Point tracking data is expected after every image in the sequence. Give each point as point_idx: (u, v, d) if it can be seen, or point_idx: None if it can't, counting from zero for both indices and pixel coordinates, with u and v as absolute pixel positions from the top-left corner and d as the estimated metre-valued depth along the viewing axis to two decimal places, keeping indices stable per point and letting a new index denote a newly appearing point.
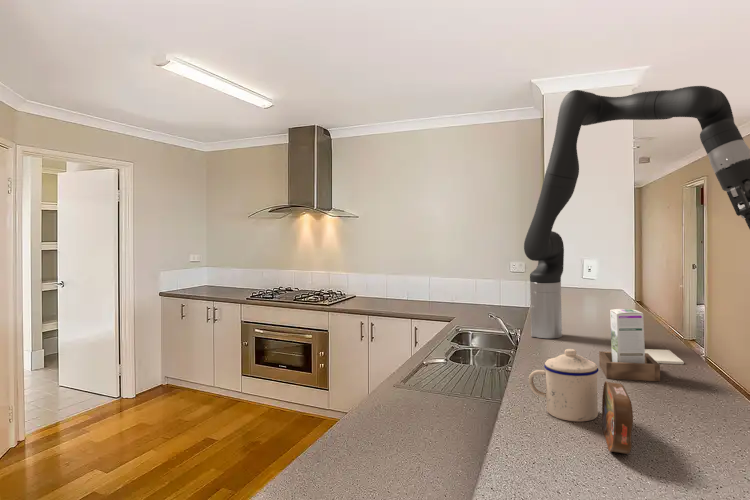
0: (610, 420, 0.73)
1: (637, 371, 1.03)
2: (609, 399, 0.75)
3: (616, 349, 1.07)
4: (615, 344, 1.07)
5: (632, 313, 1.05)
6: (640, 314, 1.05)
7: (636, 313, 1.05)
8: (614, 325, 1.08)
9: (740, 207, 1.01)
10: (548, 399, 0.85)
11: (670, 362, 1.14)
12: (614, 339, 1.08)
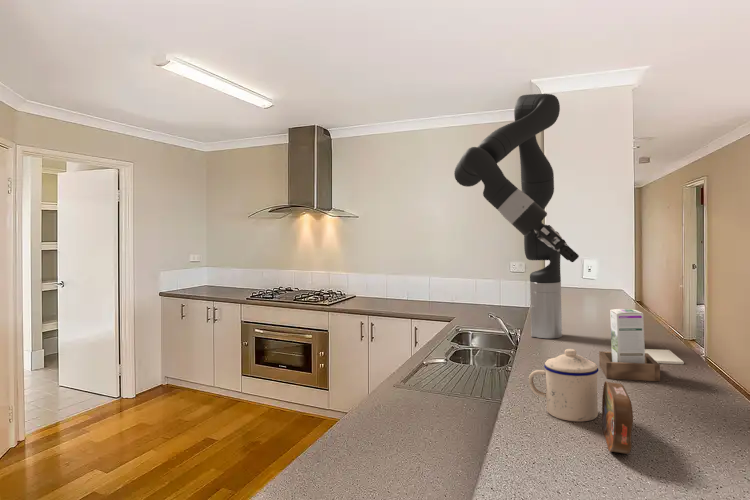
0: (610, 420, 0.73)
1: (637, 371, 1.03)
2: (609, 399, 0.75)
3: (616, 349, 1.07)
4: (615, 344, 1.07)
5: (632, 313, 1.05)
6: (640, 314, 1.05)
7: (636, 313, 1.05)
8: (614, 325, 1.08)
9: None
10: (548, 399, 0.85)
11: (670, 362, 1.14)
12: (614, 339, 1.08)
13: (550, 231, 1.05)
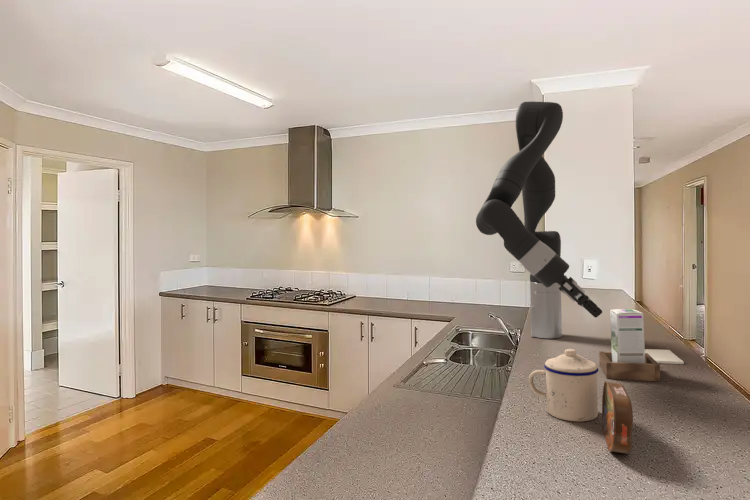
0: (610, 420, 0.73)
1: (637, 371, 1.03)
2: (609, 399, 0.75)
3: (616, 349, 1.07)
4: (615, 344, 1.07)
5: (632, 313, 1.05)
6: (640, 314, 1.05)
7: (636, 313, 1.05)
8: (614, 325, 1.07)
9: None
10: (548, 399, 0.85)
11: (670, 362, 1.14)
12: (614, 339, 1.08)
13: (573, 287, 1.04)
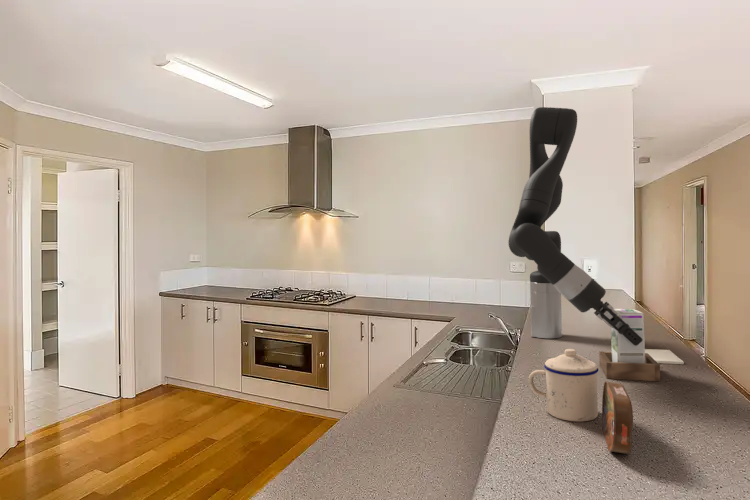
0: (610, 420, 0.73)
1: (637, 371, 1.03)
2: (609, 399, 0.75)
3: (616, 349, 1.07)
4: (615, 344, 1.07)
5: (632, 313, 1.05)
6: (640, 314, 1.05)
7: (636, 313, 1.05)
8: None
9: None
10: (548, 399, 0.85)
11: (670, 362, 1.14)
12: (614, 339, 1.08)
13: (614, 316, 1.03)
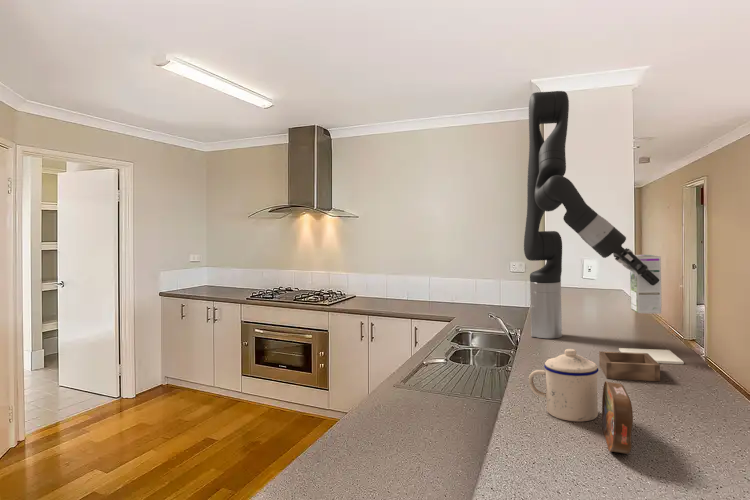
0: (610, 420, 0.73)
1: (637, 371, 1.03)
2: (609, 399, 0.75)
3: (635, 289, 1.19)
4: (634, 285, 1.19)
5: (650, 256, 1.17)
6: (658, 257, 1.16)
7: (654, 256, 1.16)
8: None
9: None
10: (548, 399, 0.85)
11: (670, 362, 1.14)
12: (633, 281, 1.20)
13: (634, 258, 1.14)
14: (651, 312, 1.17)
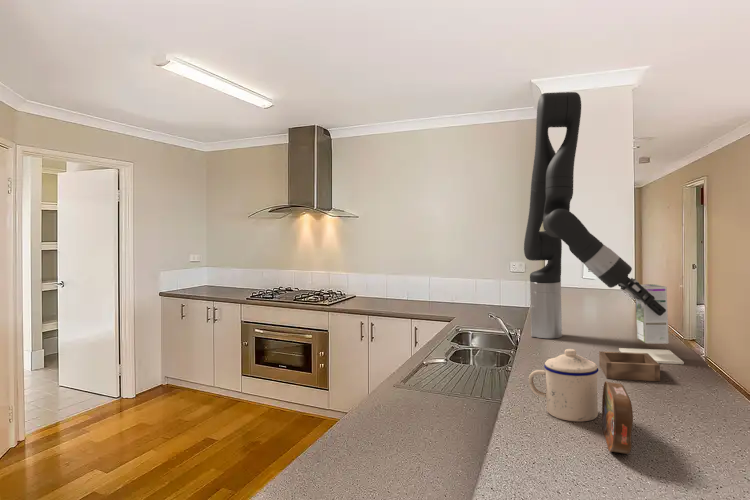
0: (610, 420, 0.73)
1: (637, 371, 1.03)
2: (609, 399, 0.75)
3: (642, 319, 1.19)
4: (641, 315, 1.20)
5: (656, 286, 1.18)
6: (664, 287, 1.17)
7: (660, 286, 1.17)
8: None
9: None
10: (548, 399, 0.85)
11: (670, 362, 1.14)
12: (640, 311, 1.20)
13: (641, 288, 1.15)
14: (658, 342, 1.18)
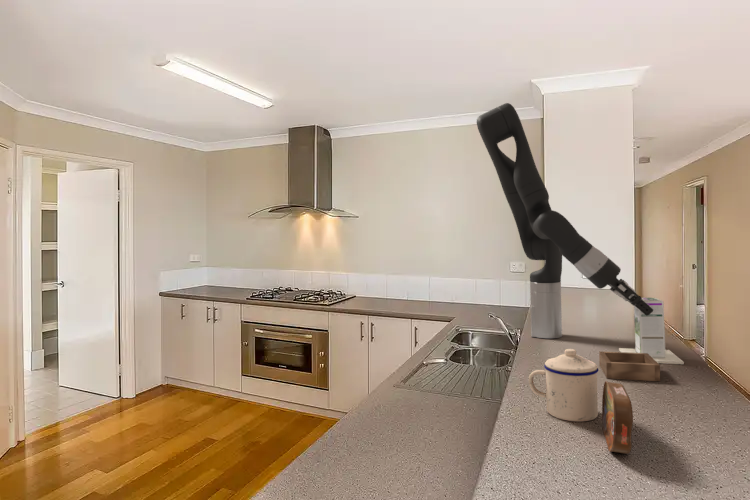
0: (610, 420, 0.73)
1: (637, 371, 1.03)
2: (609, 399, 0.75)
3: (638, 333, 1.19)
4: (638, 329, 1.20)
5: (653, 301, 1.17)
6: (660, 302, 1.17)
7: (657, 301, 1.17)
8: (637, 312, 1.20)
9: None
10: (548, 399, 0.85)
11: (670, 362, 1.14)
12: (637, 324, 1.20)
13: (627, 288, 1.16)
14: (655, 356, 1.18)
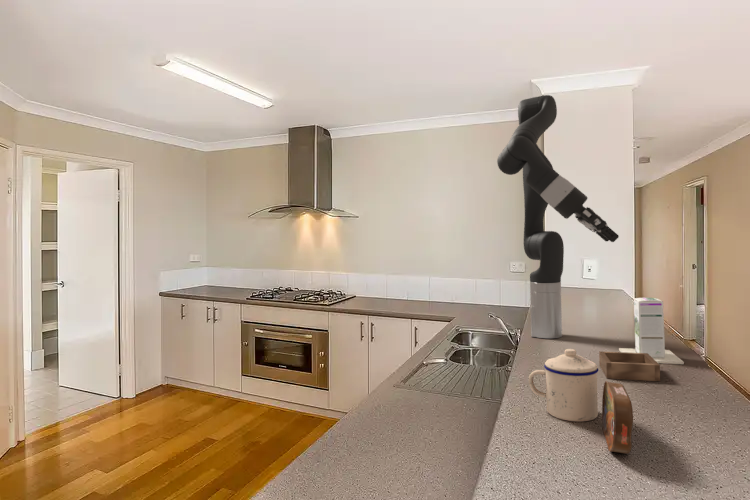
0: (610, 420, 0.73)
1: (637, 371, 1.03)
2: (609, 399, 0.75)
3: (638, 333, 1.19)
4: (637, 329, 1.20)
5: (653, 301, 1.17)
6: (660, 302, 1.17)
7: (656, 301, 1.17)
8: (636, 312, 1.20)
9: None
10: (548, 399, 0.85)
11: (670, 362, 1.14)
12: (636, 324, 1.20)
13: (592, 213, 1.14)
14: (654, 356, 1.18)
